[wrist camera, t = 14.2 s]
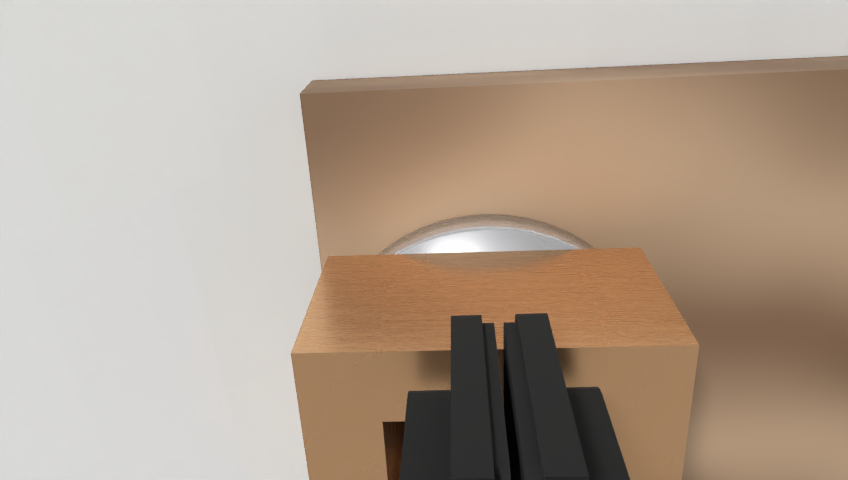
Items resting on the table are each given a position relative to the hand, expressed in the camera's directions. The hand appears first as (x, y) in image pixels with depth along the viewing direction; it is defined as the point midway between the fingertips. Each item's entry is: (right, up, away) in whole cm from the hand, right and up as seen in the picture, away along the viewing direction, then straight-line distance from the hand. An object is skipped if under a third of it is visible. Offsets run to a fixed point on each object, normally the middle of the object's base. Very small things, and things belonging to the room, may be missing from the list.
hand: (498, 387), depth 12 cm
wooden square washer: (0, -1, +5) cm, 5 cm away
